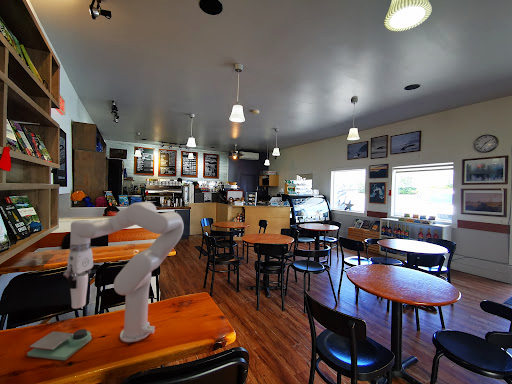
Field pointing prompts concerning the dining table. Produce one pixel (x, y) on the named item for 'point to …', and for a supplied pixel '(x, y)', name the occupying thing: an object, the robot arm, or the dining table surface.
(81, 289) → the drinking glass
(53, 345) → the scale plate
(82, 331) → the tare button
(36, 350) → the scale
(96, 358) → the dining table surface
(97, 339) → the dining table surface
